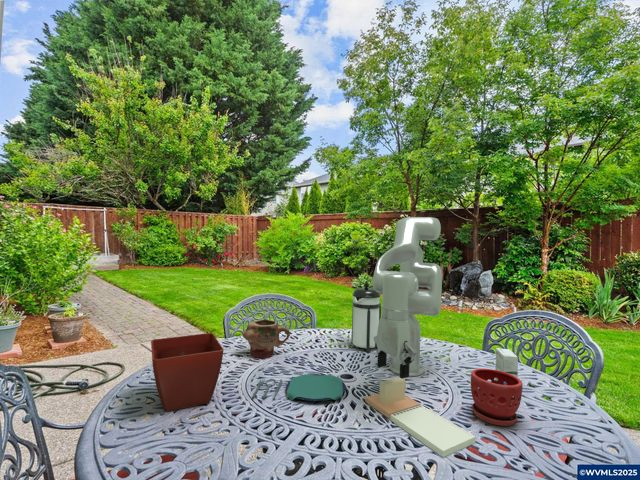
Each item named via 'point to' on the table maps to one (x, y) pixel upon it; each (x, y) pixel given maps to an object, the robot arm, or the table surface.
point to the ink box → (506, 362)
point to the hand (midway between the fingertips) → (392, 371)
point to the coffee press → (365, 317)
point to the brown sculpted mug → (264, 337)
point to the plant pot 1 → (186, 369)
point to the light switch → (391, 397)
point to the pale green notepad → (433, 430)
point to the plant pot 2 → (495, 396)
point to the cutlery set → (310, 387)
